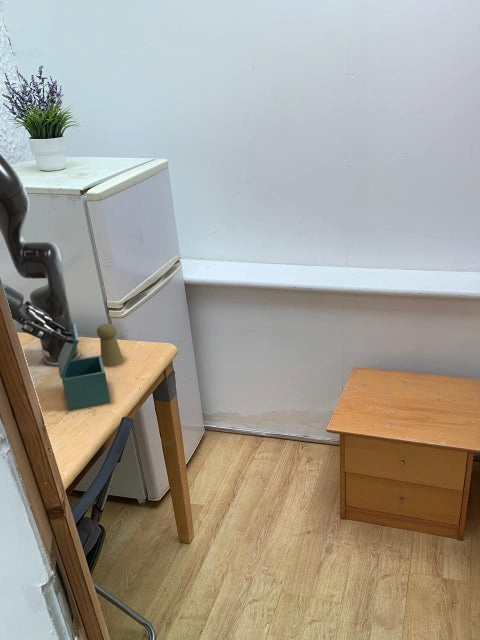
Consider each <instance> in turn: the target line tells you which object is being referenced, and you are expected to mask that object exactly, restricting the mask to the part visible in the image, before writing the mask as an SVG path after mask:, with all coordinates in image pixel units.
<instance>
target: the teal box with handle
mask: <svg viewBox="0 0 480 640" xmlns="http://www.w3.org/2000/svg"><path fill="white" fill-rule="evenodd" d="M54 331H56V332H58V333H59V334H63V335H66V336H67V341H66V343H65V344H64V346H63V348H62V351H61V353H60V356H59V358H58V365H57V366H58V373H59V378H60V379H62V378H64V375H65V373H66V371H67V368H68V366H69V363H70V361H71V359H72V356H73V354H74V351H75V349H76V347H78V344H79V341H80V339H79V334H78V328H77V323H73V324H72V326H71V329H70V331H69V333H68V332H65V331H62V330H61V329H60V328H59V327H55V328H54Z"/></svg>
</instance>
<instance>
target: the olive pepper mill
mask: <svg viewBox="0 0 480 640" xmlns="http://www.w3.org/2000/svg"><path fill="white" fill-rule="evenodd" d="M96 334H97V336H98V337H99V340H100V355H101V358H102V362H103V366H104V367H115V366H118V365H121V364H122V363H123V362H124V357H123V354H122V352H121V348H120V345H119V342H118V339H117V337H116V336H117V334H118V329H117V327H116V326H115V325H114V324H112V323H102V324H100V325H99V326H98V327H97V329H96Z"/></svg>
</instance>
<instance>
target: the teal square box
mask: <svg viewBox="0 0 480 640" xmlns="http://www.w3.org/2000/svg"><path fill="white" fill-rule="evenodd" d="M61 382H62V387H63V390H64V395H65V399H66V403H67V408H68V411H69V412H71V411H75V410H80V409H87V408H93V407H97V406H102V405H108V404H111V403H112V401H111V397H110V391H109V386H108V385H109V384H108V380H107V376H106V369H105V366H104V365H103V362H102V358H101V354H100V355H94V356H88V357H82V358H78V359H75V360H71V361H70V363H69V366H68V368H67V371H66V373H65V375H64V378H61Z"/></svg>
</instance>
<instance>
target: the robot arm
mask: <svg viewBox="0 0 480 640" xmlns="http://www.w3.org/2000/svg"><path fill="white" fill-rule="evenodd" d="M29 210H30V198H29V195H28V193H27V190H26V188H25V185H24V183H23V181H22V178H21V177H20V175H19V174H18V172H17V170H16V169H15V168H14V167H13V166H12V164H11V163H10V162H9V161H8V160H7V158H6V157H5V156H4V155H3V154H2V153H1V152H0V233H1V236H2V237H3V241H4V243H5V246H6V248H7V250H8V253H9V256H10V259H11V261H12V264H13V267H14V268H15V271H16V272H17V273H18V275H19V276H20V277H21V278H24V279H27V280H28V279H30V280H31V279H32V280H35V279H36V280H37V279H39V280H41V279H42V280H43V279H47V284H45V285H43V286H39V287H37V288H35V289H33V290H32V291H31V292H30V294H29V300H26V301H25V303H24V300H25V297H24V295H23V294H22V293H20V292H18V291H17V290H15V289H14V288H12V287H10V286H8V285H7V284H6V283H3V287H4V290H5V293H6V297H7V300H8V303H9V307H10V310H11V314H12V318H13V320H14V321H15V322H17V323H18V325H20V326H21V328H20V330H21V331H22V332H23V333H26V334H28V335H30V336H32V337H34V338H37V339H39V341H40V345H41V354H42V355H43V359H44V362H45V364H47V365H49V366H55V367H56V366H57V367H58V366H59V365H58V358H59V356H60V353H61V351H62V348H63V346H64V344H65V343H66V341H67V336H66V335H63V334H59V333H58V332H56V331H54V328H55V327H59V328H60V329H61V330H62V331H65V332H68V333H69V331H70V329H71V326H72V324H74V323H73V319H72V315H71V310H70V309H71V308H70V305H69V301H68V295H67V289H66V281H65V277H64V276H65V275H64V270H63V263H62V257H61V256H62V255H61V253H60V249H59V247H58V246H57V244H55V243H54V242H51V241H37V242H34V241H33V242H31V241H29V242H28V241H26V240H25V239H24V236H23V233H22V230H23V228H24V224H25V221H26V219H27V216H28V214H29ZM78 347H79V346H77V347H76V349H75V351H74V354H73V356H72V359H71V360H75V359H80V356H81V354H80V351H79V348H78Z"/></svg>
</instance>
